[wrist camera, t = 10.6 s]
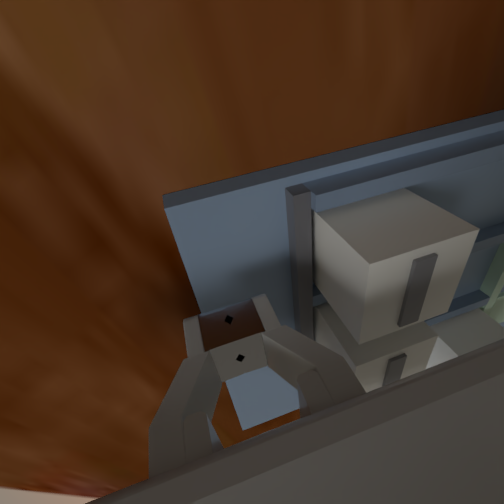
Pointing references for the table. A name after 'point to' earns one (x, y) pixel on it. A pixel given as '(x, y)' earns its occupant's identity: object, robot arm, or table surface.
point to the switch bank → (323, 198)
